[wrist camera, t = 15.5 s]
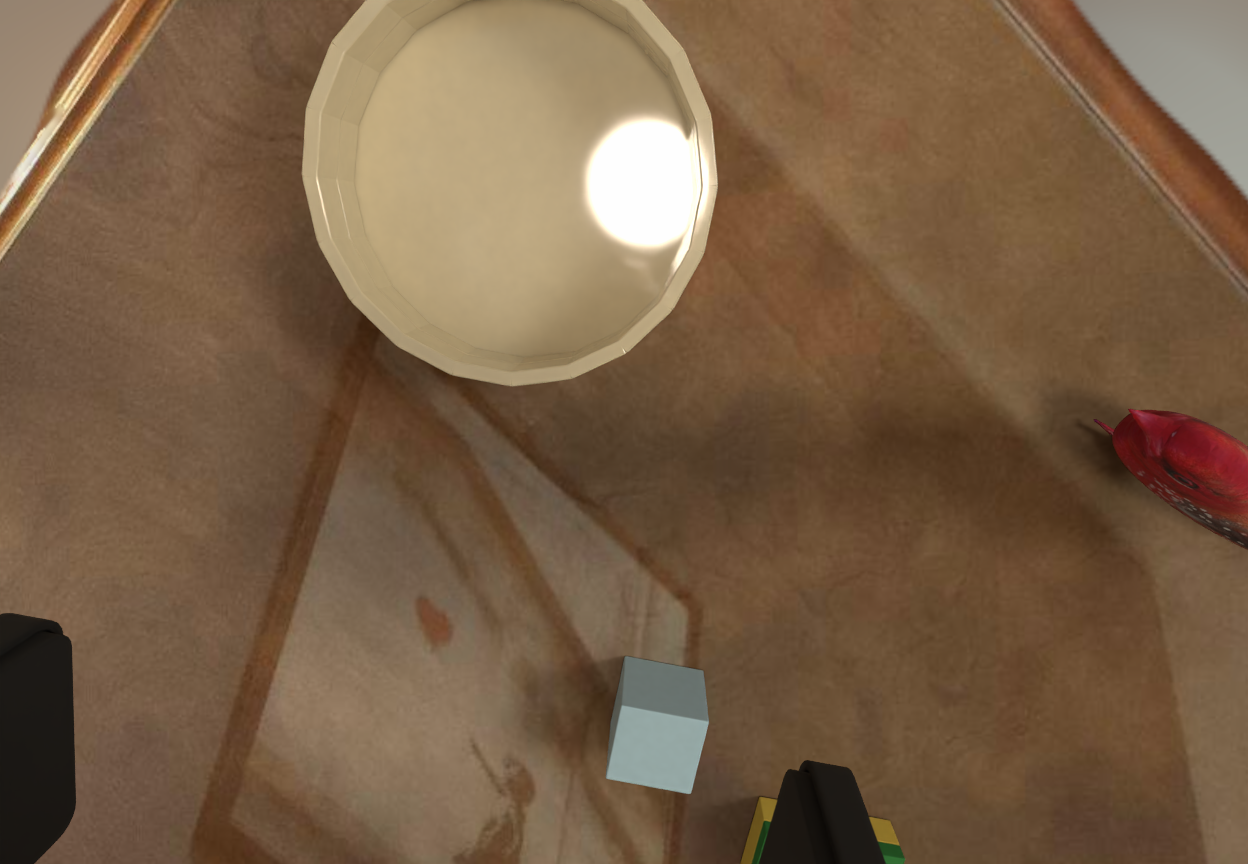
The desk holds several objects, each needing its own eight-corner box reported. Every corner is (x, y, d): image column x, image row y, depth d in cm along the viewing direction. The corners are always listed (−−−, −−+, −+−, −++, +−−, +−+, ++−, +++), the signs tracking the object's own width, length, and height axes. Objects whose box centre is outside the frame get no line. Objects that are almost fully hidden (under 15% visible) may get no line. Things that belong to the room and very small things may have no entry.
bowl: (334, 331, 33) (290, 345, 29) (363, -52, 28) (317, -96, 25) (668, 395, 33) (670, 417, 29) (745, 23, 29) (759, -9, 25)
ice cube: (610, 722, 37) (605, 778, 34) (624, 655, 36) (621, 705, 33) (687, 736, 38) (690, 794, 34) (703, 670, 36) (709, 722, 33)
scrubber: (739, 863, 39) (745, 904, 37) (759, 795, 38) (766, 834, 36) (866, 886, 40) (880, 929, 37) (890, 819, 38) (905, 859, 36)
